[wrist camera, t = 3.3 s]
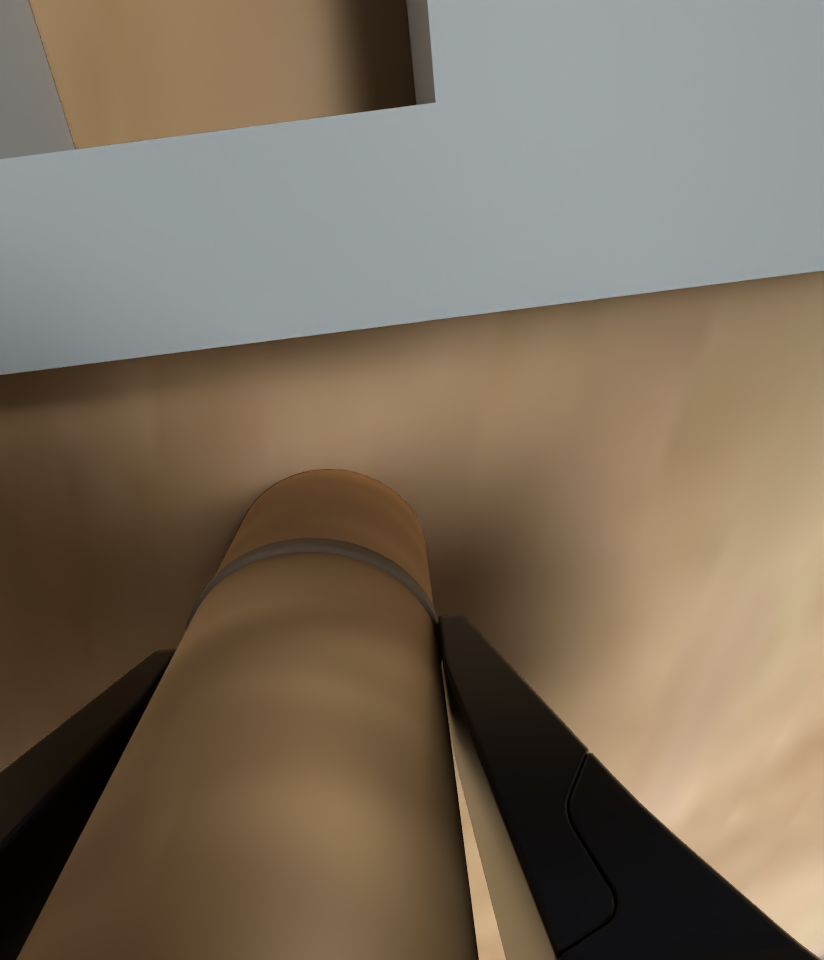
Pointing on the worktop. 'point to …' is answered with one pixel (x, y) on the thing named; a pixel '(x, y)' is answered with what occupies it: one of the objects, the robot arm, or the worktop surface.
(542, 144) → the board
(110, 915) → the peg
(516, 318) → the worktop surface
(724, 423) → the worktop surface
